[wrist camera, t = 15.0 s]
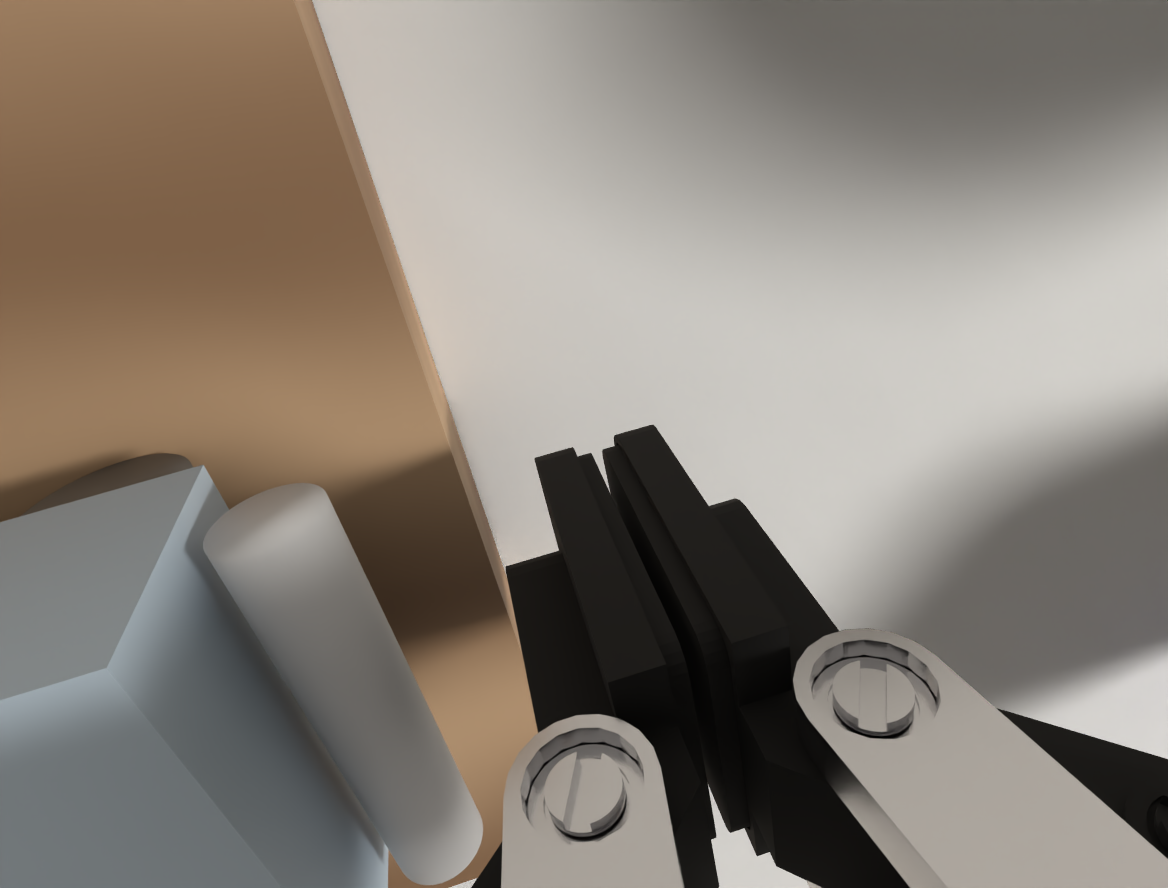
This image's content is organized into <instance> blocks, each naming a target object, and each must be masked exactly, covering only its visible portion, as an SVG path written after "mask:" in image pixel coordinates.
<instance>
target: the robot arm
mask: <svg viewBox="0 0 1168 888" xmlns="http://www.w3.org/2000/svg"><path fill="white" fill-rule="evenodd" d="M614 444H615V446H613V447H610V448H606V449H603V451H602V453H603V460H604V465H605V469H606V474H607V479H608V483H609V488H610V492H609V490H608V488H607V486H606V483H605V481H604V479H603V477H602V475H601V473H600V471H599V468H598V466H597V464H596V462H595V460H594V458H593V456H592V454H591V453H589V454H585V455H582V456H578V457H577V455H576V452H575V450H574V448H573V447H572V448H568V449H564V450H561V451H557V452H554V453H550V454H547V455H543V456H540V457H536V458H535V463H536V466H537V470H538V474H539V478H540V481H541V485H542V489H543V493H544V496H545V500H546V504H547V507H548V511H549V515H550V518H551V522H552V526H553V530H554V533H555V537H556V541H557V544H558V548H559V551H557V552H553V553H550V554H547V555H543V556H540V557H536V558H533V559H530V560H526V561H523V562H520V563H516V564H513V565H510V566H506V574H507V580H508V585H509V590H510V595H511V600H512V605H513V610H514V615H515V620H516V625H517V630H518V635H519V640H520V645H521V650H522V655H523V660H524V665H525V670H526V675H527V680H528V685H529V690H530V695H531V700H532V705H533V710H534V715H535V720H536V725H537V730H538V734H536V735H535V736H534V737H533V738H532V739H531V740H530V741H529V742H528V743H527V744H526V745H525V746H524V747H523V749H522V750H521V751H520V752H519V753H518V755H517V757H516V759H515V761H514V763H513V765H512V767H511V768H510V770H509V772H508V776H507V781H506V786H505V792H504V799H503V838H502V843H501V844H500V846H499V847H498V849H497V850H496V852H495V853H494V855H493V856H492V857H491V859H490V860H489V862H488V863H487V865H486V866H485V868H484V869H483V871H482V872H481V874H480V875H479V877H478V878H477V880H476V881H475V883H474V884H473V886H472V887H471V888H719V883H718V877H717V871H716V866H715V860H714V854H713V849H712V843H711V839H714V838H716V830H715V824H714V819H713V813H712V807H711V801H710V795H709V789H708V785H709V787H710V789H711V792H712V794H713V797H714V799H715V801H716V804H717V806H718V809H719V811H720V813H721V816H722V818H723V821H724V823H725V825H726V827H727V829H728V831H729V832H730V833H731V832H734V831H737V830H740V829H743V828H745V830H746V832H747V835H748V837H749V839H750V841H751V844H752V846H753V848H754V851H755V853H756V855H757V856H759V855H762V854H765V853H768V852H770V853H771V855H772V858H773V860H774V862H775V864H776V866H777V867H779V868H781V869H784V870H786V871H788V872H790V873H792V874H794V875H796V876H799V877H801V878H803V879H805V880H807V883H808V885H809V887H810V888H1168V759H1165V758H1162V757H1158V756H1155V755H1152V754H1148V753H1145V752H1142V751H1138V750H1135V749H1132V748H1128V747H1125V746H1121V745H1118V744H1115V743H1111V742H1108V741H1105V740H1101V739H1098V738H1095V737H1091V736H1088V735H1085V734H1081V733H1078V732H1074V731H1071V730H1068V729H1064V728H1061V727H1058V726H1054V725H1051V724H1048V723H1044V722H1041V721H1038V720H1034V719H1031V718H1028V717H1024V716H1021V715H1017V714H1014V713H1011V712H1007V711H1004V710H1001V709H997V708H995V707H994V706H993V705H992V704H991V703H990V702H988V701H987V700H986V699H985V698H984V697H983V696H982V695H980V694H979V693H978V692H977V691H976V690H975V689H974V688H972V687H971V686H970V685H969V684H968V683H967V682H966V681H965V680H963V679H962V678H961V677H960V676H959V675H958V674H957V673H955V672H954V671H953V670H952V669H951V668H950V667H949V666H947V665H946V664H945V663H944V662H943V661H942V660H941V659H939V658H938V657H937V656H936V655H935V654H933V653H932V652H930V651H929V650H927V649H926V648H924V647H923V646H922V645H920V644H919V643H917V642H916V641H913V640H911V639H908V638H906V637H903V636H901V635H898V634H896V633H893V632H888V631H882V630H876V629H869V628H864V629H847V630H842V631H839V630H838V629H837V627H836V626H835V625H834V623H833V622H832V621H831V619H830V618H829V617H828V615H827V614H826V613H825V611H824V610H823V609H822V607H821V606H820V605H819V603H818V602H817V601H816V599H815V598H814V597H813V595H812V594H811V593H810V591H809V590H808V589H807V587H806V586H805V585H804V583H803V582H802V581H801V579H800V578H799V577H798V575H797V574H796V573H795V571H794V570H793V569H792V567H791V566H790V565H789V563H788V562H787V561H786V559H785V558H784V557H783V555H782V554H781V553H780V551H779V550H778V549H777V547H776V546H775V545H774V543H773V542H772V541H771V539H770V538H769V537H768V535H767V534H766V533H765V531H764V530H763V529H762V527H761V526H760V525H759V523H758V522H757V521H756V519H755V518H754V517H753V515H752V514H751V513H750V511H749V510H748V509H747V507H746V506H745V505H744V504H743V503H742V502H741V501H740V500H738V499H732V500H728V501H725V502H721V503H718V504H715V505H711V506H708V505H707V503H706V502H705V500H704V499H703V497H702V496H701V494H700V493H699V491H698V490H697V488H696V487H695V485H694V484H693V482H692V481H691V479H690V478H689V476H688V475H687V473H686V472H685V470H684V469H683V467H682V466H681V464H680V463H679V461H678V460H677V458H676V457H675V455H674V454H673V452H672V451H671V449H670V448H669V446H668V445H667V443H666V442H665V440H664V439H663V437H662V436H661V434H660V433H659V431H658V430H657V428H656V427H655V426H654V425H649V426H646V427H642V428H638V429H635V430H631V431H628V432H624V433H621V434H617V435H615V436H614ZM610 493H611V494H610ZM707 782H708V783H707Z"/></svg>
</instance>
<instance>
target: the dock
mask: <svg viewBox="0 0 1168 888" xmlns="http://www.w3.org/2000/svg"><path fill="white" fill-rule="evenodd" d="M163 453H169V454H178V455H181V456H184V457H186V458H187V459H188V460H189V461H190V462H191V464H192V466H193V467H197V466H200V465H204V467H205V468H206V470H207V472H208V474H209V475H210V477H211V479H212V481H213V482H214V484H215V486H216V488H217V489H218V491H219V493H220V494H221V496H222V498H223V500H224V501H225V503H226V505H227V507H228V508H229V510H230V509H231V508H233V507H234V506H236V505H237V504H239V503H241V502H242V501H244V500H246V499H248V498H250V497H252V496H254V495H256V494H258V493H261V492H263V491H266V490H269V489H272V488H275V487H279V486H282V485H287V484H294V483H310V484H315V485H318V486H320V487H321V488H323V489H324V490H325V492H326V493H327V495H328V497H329V499H330V502H331V504H332V506H333V508H334V510H335V512H336V514H337V516H338V518H339V520H340V522H341V525H342V527H343V529H344V531H345V533H346V535H347V537H348V539H349V541H350V543H351V545H352V548H353V550H354V552H355V554H356V556H357V558H358V560H359V562H360V564H361V566H362V568H363V571H364V573H365V575H366V577H367V579H368V581H369V583H370V585H371V587H372V589H373V591H374V594H375V596H376V598H377V600H378V602H379V604H380V606H381V608H382V610H383V612H384V615H385V617H386V619H387V621H388V623H389V625H390V627H391V629H392V631H393V633H394V635H395V638H396V640H397V642H398V644H399V646H400V648H401V650H402V652H403V654H404V656H405V658H406V661H407V663H408V665H409V667H410V669H411V671H412V673H413V675H414V677H415V679H416V681H417V684H418V686H419V688H420V690H421V692H422V694H423V696H424V698H425V700H426V702H427V704H428V707H429V709H430V711H431V713H432V715H433V717H434V719H435V721H436V723H437V725H438V727H439V730H440V732H441V734H442V736H443V738H444V740H445V742H446V744H447V746H448V748H449V750H450V753H451V755H452V757H453V759H454V761H455V763H456V765H457V767H458V769H459V771H460V774H461V776H462V778H463V780H464V782H465V784H466V786H467V788H468V790H469V792H470V794H471V797H472V799H473V801H474V803H475V805H476V807H477V809H478V811H479V813H480V815H481V818H482V823H483V836H482V841H481V844H480V847H479V849H478V851H477V853H476V855H475V857H474V858H473V860H472V861H471V862H470V864H469V865H468V866H467V867H466V868H465V869H464V870H463V871H462V872H461V873H459V874H458V875H457V876H455V877H454V878H452V879H450V880H448V881H446V882H443V883H440V884H436V885H421V884H417V883H415V882H413V881H411V880H410V879H408V878H407V877H406V876H405V875H404V874H403V872H402V870H401V869H400V867H399V865H398V864H397V862H396V861H395V859H394V857H393V856H392V854H391V853H390V851H389V849H388V888H449V887H452V886H455V885H457V884H460V883H463V882H466V881H469V880H472V879H475V878H478V877H479V875H480V874H481V872H482V871H483V869H484V868H485V866H486V865H487V863H488V862H489V860H490V859H491V857H492V856H493V855H494V853H495V852H496V850H497V849H498V847H499V846H500V844H501V843H502V838H503V799H504V792H505V786H506V781H507V776H508V772H509V770H510V768H511V767H512V765H513V763H514V761H515V759H516V757H517V755H518V753H519V752H520V751H521V750H522V749H523V747H524V746H525V745H526V744H527V743H528V742H529V741H530V740H531V739H532V738H533V737H534V736H535V735H536V734H538V730H537V725H536V720H535V715H534V710H533V705H532V700H531V695H530V690H529V685H528V680H527V675H526V670H525V665H524V660H523V655H522V650H521V645H520V640H519V635H518V630H517V625H516V620H515V615H514V610H513V605H512V600H511V595H510V590H509V585H508V580H507V577H506V574H505V571H504V568H503V565H502V562H501V559H500V556H499V553H498V550H497V547H496V544H495V541H494V538H493V535H492V532H491V529H490V526H489V523H488V520H487V517H486V514H485V511H484V509H483V506H482V503H481V500H480V497H479V494H478V491H477V488H476V485H475V482H474V479H473V476H472V473H471V470H470V467H469V464H468V461H467V458H466V455H465V452H464V449H463V446H462V443H461V440H460V437H459V435H458V432H457V429H456V426H455V423H454V420H453V417H452V414H451V411H450V408H449V405H448V402H447V399H446V396H445V393H444V390H443V387H442V384H441V381H440V378H439V375H438V372H437V369H436V366H435V363H434V360H433V358H432V355H431V352H430V349H429V346H428V343H427V340H426V337H425V334H424V331H423V328H422V325H421V322H420V319H419V316H418V313H417V310H416V307H415V304H414V301H413V298H412V295H411V292H410V289H409V286H408V283H407V281H406V278H405V275H404V272H403V269H402V266H401V263H400V260H399V257H398V254H397V251H396V248H395V245H394V242H393V239H392V236H391V233H390V230H389V227H388V224H387V221H386V218H385V215H384V212H383V209H382V207H381V204H380V201H379V198H378V195H377V192H376V189H375V186H374V183H373V180H372V177H371V174H370V171H369V168H368V165H367V162H366V159H365V156H364V153H363V150H362V147H361V144H360V141H359V138H358V135H357V132H356V130H355V127H354V124H353V121H352V118H351V115H350V112H349V109H348V106H347V103H346V100H345V97H344V94H343V91H342V88H341V85H340V82H339V79H338V76H337V73H336V70H335V67H334V64H333V61H332V58H331V55H330V53H329V50H328V47H327V44H326V41H325V38H324V35H323V32H322V29H321V26H320V23H319V20H318V17H317V14H316V11H315V8H314V5H313V2H312V0H0V522H3V521H6V520H10V519H13V518H17V517H20V516H21V515H22V514H23V513H25V512H26V511H27V510H28V509H30V508H31V507H32V506H34V505H35V504H36V503H38V502H39V501H41V500H42V499H44V498H45V497H47V496H48V495H50V494H52V493H53V492H55V491H57V490H58V489H60V488H62V487H64V486H66V485H67V484H69V483H71V482H73V481H75V480H77V479H79V478H81V477H83V476H86V475H88V474H90V473H92V472H95V471H97V470H100V469H102V468H105V467H107V466H110V465H113V464H116V463H119V462H122V461H125V460H129V459H132V458H136V457H141V456H146V455H152V454H163Z"/></svg>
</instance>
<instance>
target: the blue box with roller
mask: <svg viewBox="0 0 1168 888" xmlns="http://www.w3.org/2000/svg"><path fill="white" fill-rule="evenodd" d="M482 836H483V823H482V818H481V815H480V813H479V811H478V809H477V807H476V805H475V803H474V801H473V799H472V797H471V794H470V792H469V790H468V788H467V786H466V784H465V782H464V780H463V778H462V776H461V774H460V771H459V769H458V767H457V765H456V763H455V761H454V759H453V757H452V755H451V753H450V750H449V748H448V746H447V744H446V742H445V740H444V738H443V736H442V734H441V732H440V730H439V727H438V725H437V723H436V721H435V719H434V717H433V715H432V713H431V711H430V709H429V707H428V704H427V702H426V700H425V698H424V696H423V694H422V692H421V690H420V688H419V686H418V684H417V681H416V679H415V677H414V675H413V673H412V671H411V669H410V667H409V665H408V663H407V661H406V658H405V656H404V654H403V652H402V650H401V648H400V646H399V644H398V642H397V640H396V638H395V635H394V633H393V631H392V629H391V627H390V625H389V623H388V621H387V619H386V617H385V615H384V612H383V610H382V608H381V606H380V604H379V602H378V600H377V598H376V596H375V594H374V591H373V589H372V587H371V585H370V583H369V581H368V579H367V577H366V575H365V573H364V571H363V568H362V566H361V564H360V562H359V560H358V558H357V556H356V554H355V552H354V550H353V548H352V545H351V543H350V541H349V539H348V537H347V535H346V533H345V531H344V529H343V527H342V525H341V522H340V520H339V518H338V516H337V514H336V512H335V510H334V508H333V506H332V504H331V502H330V499H329V497H328V495H327V493H326V492H325V490H324V489H323V488H321V487H320V486H318V485H315V484H310V483H294V484H287V485H282V486H279V487H275V488H272V489H269V490H266V491H263V492H261V493H258V494H256V495H254V496H252V497H250V498H248V499H246V500H244V501H242V502H241V503H239V504H237V505H236V506H234V507H233V508H231V509H230V510H229V508H228V507H227V505H226V503H225V501H224V500H223V498H222V496H221V494H220V493H219V491H218V489H217V488H216V486H215V484H214V482H213V481H212V479H211V477H210V475H209V474H208V472H207V470H206V468H205V467H204V465H200V466H197V467H193V466H192V464H191V462H190V461H189V460H188V459H187V458H186V457H184V456H181V455H178V454H169V453H163V454H152V455H146V456H141V457H136V458H132V459H129V460H125V461H122V462H119V463H116V464H113V465H110V466H107V467H105V468H102V469H100V470H97V471H95V472H92V473H90V474H88V475H86V476H83V477H81V478H79V479H77V480H75V481H73V482H71V483H69V484H67V485H66V486H64V487H62V488H60V489H58V490H57V491H55V492H53V493H52V494H50V495H48V496H47V497H45V498H44V499H42V500H41V501H39V502H38V503H36V504H35V505H34V506H32V507H31V508H30V509H28V510H27V511H26V512H25V513H23V514H22V515H21V516H20V517H17V518H13V519H10V520H6V521H3V522H0V888H388V849H389V851H390V853H391V854H392V856H393V857H394V859H395V861H396V862H397V864H398V865H399V867H400V869H401V870H402V872H403V874H404V875H405V876H406V877H407V878H408V879H410V880H411V881H413V882H415V883H417V884H421V885H436V884H440V883H443V882H446V881H448V880H450V879H452V878H454V877H455V876H457V875H458V874H459V873H461V872H462V871H463V870H464V869H465V868H466V867H467V866H468V865H469V864H470V862H471V861H472V860H473V858H474V857H475V855H476V853H477V851H478V849H479V847H480V844H481V841H482Z"/></svg>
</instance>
